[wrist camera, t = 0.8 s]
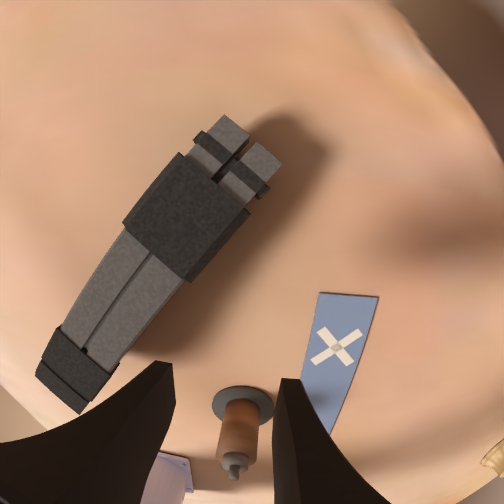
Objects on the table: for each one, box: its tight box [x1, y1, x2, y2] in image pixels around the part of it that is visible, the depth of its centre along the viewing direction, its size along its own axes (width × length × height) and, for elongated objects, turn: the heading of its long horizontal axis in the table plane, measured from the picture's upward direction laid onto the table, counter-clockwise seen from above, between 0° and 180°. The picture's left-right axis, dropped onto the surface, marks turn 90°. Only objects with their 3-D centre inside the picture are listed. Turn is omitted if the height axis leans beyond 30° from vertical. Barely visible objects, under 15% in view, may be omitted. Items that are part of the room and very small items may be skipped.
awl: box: [216, 398, 260, 480], centre depth 18 cm, size 3×3×7 cm
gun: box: [35, 115, 282, 415], centre depth 17 cm, size 4×20×10 cm, turn 139°
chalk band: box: [300, 293, 378, 434], centre depth 20 cm, size 16×4×1 cm, turn 175°
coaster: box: [212, 386, 274, 426], centre depth 21 cm, size 5×5×1 cm
